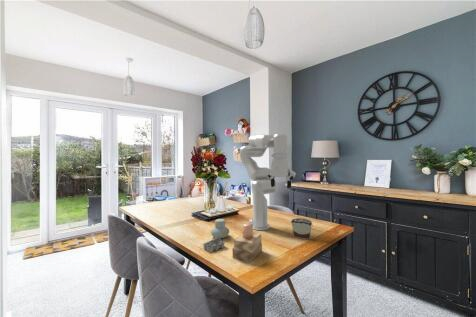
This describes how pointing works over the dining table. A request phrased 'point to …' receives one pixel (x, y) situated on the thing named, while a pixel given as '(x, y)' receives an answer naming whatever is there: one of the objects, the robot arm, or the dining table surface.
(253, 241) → the tower top
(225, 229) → the air freshener
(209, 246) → the egg carton
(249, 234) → the pink rounded capsule
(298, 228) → the food container
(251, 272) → the dining table surface
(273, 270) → the dining table surface
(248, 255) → the tower base
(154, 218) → the dining table surface
